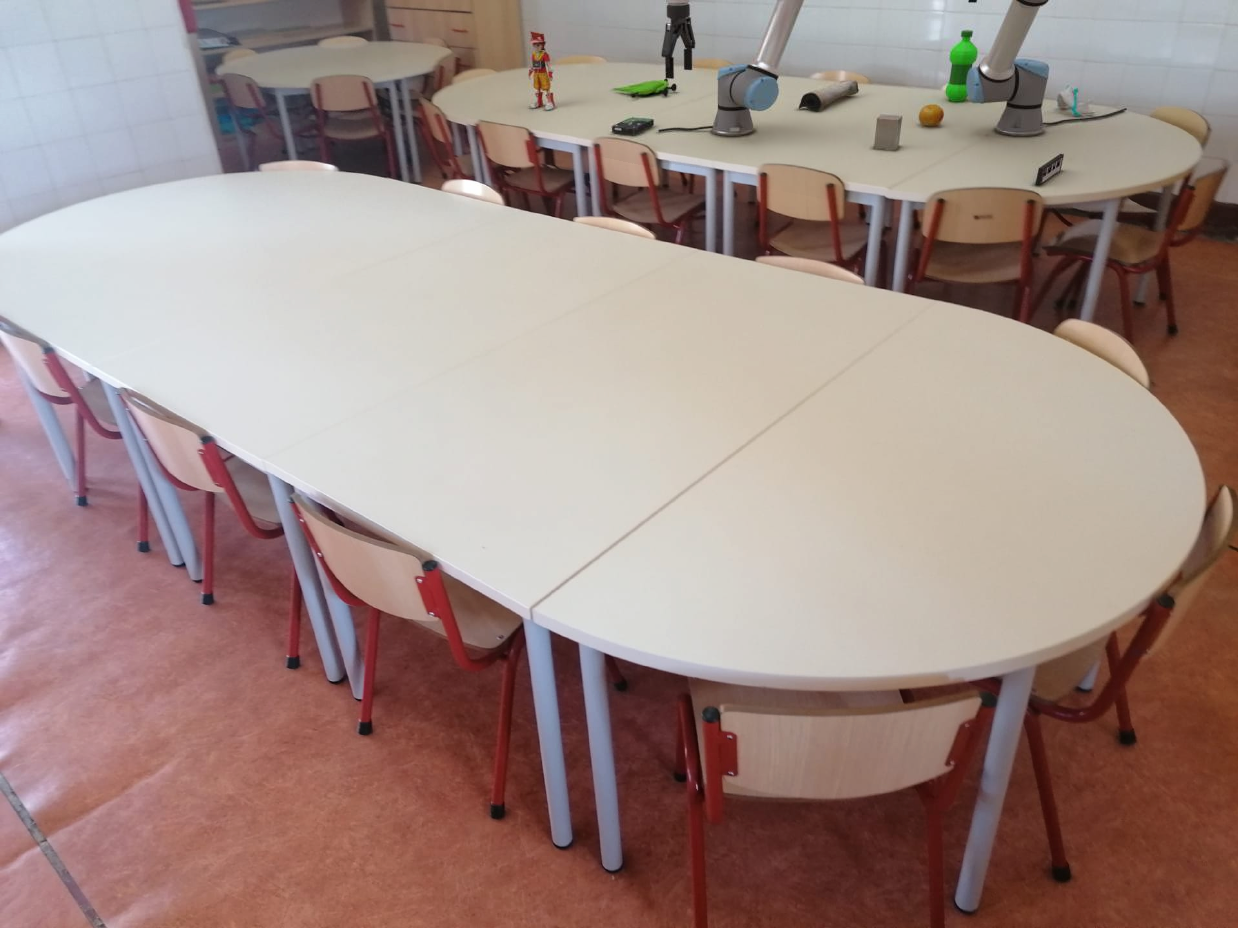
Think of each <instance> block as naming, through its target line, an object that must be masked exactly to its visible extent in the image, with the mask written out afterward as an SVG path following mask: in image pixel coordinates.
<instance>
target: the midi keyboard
mask: <svg viewBox="0 0 1238 928" xmlns="http://www.w3.org/2000/svg"><path fill="white" fill-rule="evenodd" d="M1064 157H1065V153H1059V154H1058V155H1056V156H1055V157H1052V159H1051V160H1049V161H1047V162H1045V164H1042V165H1041V166H1039V167H1038V169H1037V175H1036V179H1035V186H1040V185H1042V183H1044V182H1045V181H1047V180H1048V179H1049V178H1051V177H1052V176H1054V175H1055V174H1056V173H1058V172H1060V171H1061V170H1062V165H1063V161H1064Z"/></svg>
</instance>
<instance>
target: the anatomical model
mask: <svg viewBox="0 0 1238 928" xmlns="http://www.w3.org/2000/svg"><path fill="white" fill-rule="evenodd" d="M1077 93H1079V88H1078V87H1075V86H1074V85H1072V84H1071V85H1070V84H1068V85H1066V87H1065V89H1064V90H1062V91H1059V92H1058V93H1057V95H1056V102H1057V107H1058V108H1061V109H1065V108H1069V109H1070V110H1071V112H1072V114H1073V116H1074V117H1081V116H1083V115H1094V114H1095V113H1096V110H1093V109H1089V105H1090V104H1091V103H1092V102H1093V100H1092V99H1088V100H1085V101H1084V102H1081V103H1079V100H1078V95H1077Z"/></svg>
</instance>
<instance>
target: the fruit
mask: <svg viewBox="0 0 1238 928" xmlns="http://www.w3.org/2000/svg"><path fill="white" fill-rule="evenodd" d="M944 116H945V111H944V108H942V107H941V106H940V105H938V104H927V105H924V106H923V107H922V108H921V109H920V110H919V113H918V120H919V122H920V124H921V125H923V126H927V127H935V126H938V125H939V124H940V123H942V121H943V120H944Z"/></svg>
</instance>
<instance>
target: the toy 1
mask: <svg viewBox="0 0 1238 928" xmlns="http://www.w3.org/2000/svg"><path fill="white" fill-rule="evenodd" d="M529 33H530V35H531V36H528V37H527V38H528V39H529V40H528V41H527V43H529V44H530V43H531V44H532V48H533V50H534V51H533V52H532V55H531V58H530V59H531V63H530V66H528V74H527V75H528V76H527V77H528V79H529V80H531V75H532V74H533V84H532V85H533V86H532V87H533V88H534V89H535V90H536V92H534V95H535V97H536V100H535V101H533V102H531V105H530V108H531V109H535V108H538V107H542V106H544V101H543V100H544V99H543V95H544V92H546V94H545V97H546V99H547V103H546V104H545V106H544V110H546V111H549V110H553V109H554V107H555V106H556V105H555V99H554V92H551V91H550V90H551V86H552V84H551V82H552V81H553V80H554V77H553V73H554V71H555V70H554V69H552V68H551V63H550V61H551V59H550V58H551V57H550V54H549V53H548V52H547V50H546V48H545V46H546V44H547V41H545V35H544V33H543V32H542V33H539V32H535V31H529Z"/></svg>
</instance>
